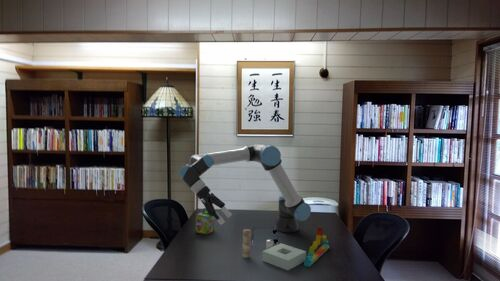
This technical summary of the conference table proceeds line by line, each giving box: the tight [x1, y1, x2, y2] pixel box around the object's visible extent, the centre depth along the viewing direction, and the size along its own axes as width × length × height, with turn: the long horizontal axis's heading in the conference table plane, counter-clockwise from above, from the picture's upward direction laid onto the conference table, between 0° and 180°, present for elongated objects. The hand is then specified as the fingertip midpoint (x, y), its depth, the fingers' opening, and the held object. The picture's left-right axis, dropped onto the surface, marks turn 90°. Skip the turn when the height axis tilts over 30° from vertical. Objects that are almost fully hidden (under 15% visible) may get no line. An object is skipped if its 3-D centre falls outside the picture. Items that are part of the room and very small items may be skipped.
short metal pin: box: [265, 238, 274, 250], centre depth 188 cm, size 4×4×5 cm
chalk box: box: [194, 207, 216, 236], centre depth 213 cm, size 9×9×15 cm
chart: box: [303, 227, 330, 268], centre depth 180 cm, size 30×3×15 cm, turn 149°
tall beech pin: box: [242, 228, 252, 259], centre depth 176 cm, size 4×4×14 cm
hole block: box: [261, 243, 307, 271], centre depth 173 cm, size 16×16×5 cm
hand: (226, 219), depth 178 cm, fingers open, 13 cm apart
